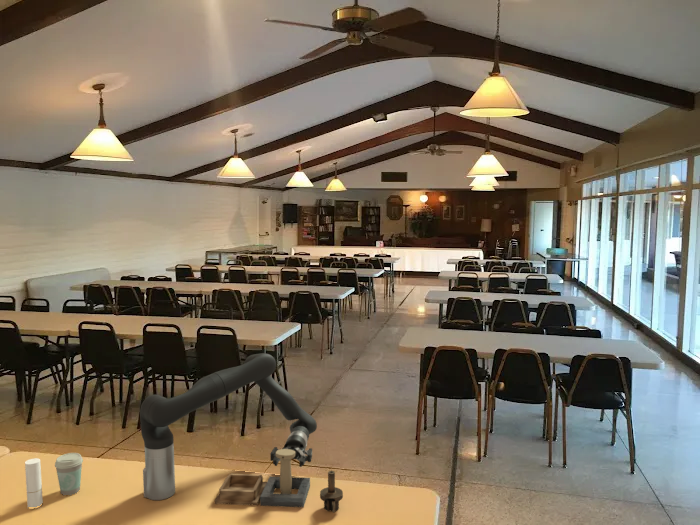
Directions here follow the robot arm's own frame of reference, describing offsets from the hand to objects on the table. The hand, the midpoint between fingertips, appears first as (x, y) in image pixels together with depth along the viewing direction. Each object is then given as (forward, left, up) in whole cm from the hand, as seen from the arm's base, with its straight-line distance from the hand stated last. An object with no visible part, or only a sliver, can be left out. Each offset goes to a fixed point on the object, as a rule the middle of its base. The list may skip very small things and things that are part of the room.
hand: (288, 463), depth 198 cm
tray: (-15, -5, -9) cm, 18 cm away
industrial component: (+16, -11, -9) cm, 21 cm away
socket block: (0, -5, -9) cm, 10 cm away
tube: (-79, -18, -9) cm, 81 cm away
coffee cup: (-73, -8, -9) cm, 74 cm away
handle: (0, -5, -9) cm, 10 cm away
